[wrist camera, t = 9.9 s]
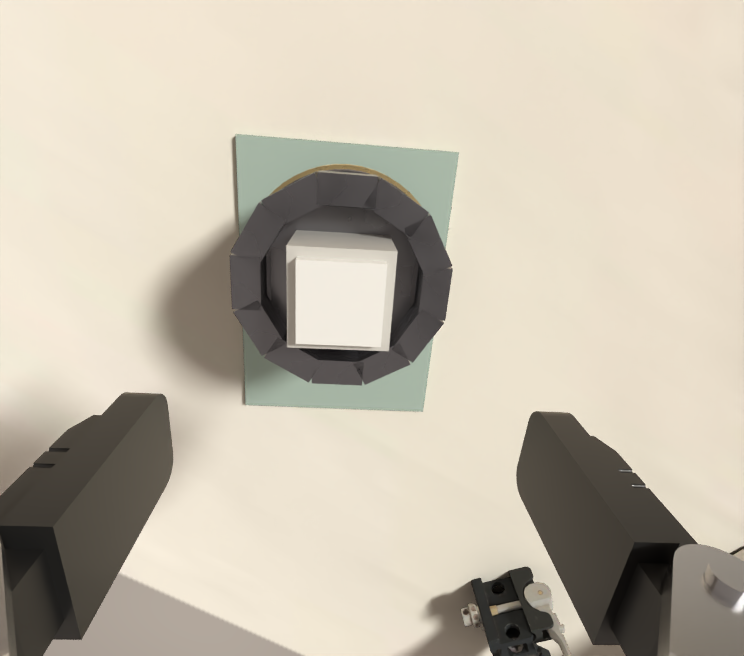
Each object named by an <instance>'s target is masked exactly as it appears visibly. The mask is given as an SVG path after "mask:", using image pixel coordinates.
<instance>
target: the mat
mask: <svg viewBox="0 0 744 656" xmlns="http://www.w3.org/2000/svg"><path fill="white" fill-rule="evenodd" d="M458 155H459V152H447V151H435V150H423V149H411V148H399V147H387V146H374V145H362V144H350V143H338V142H326V141H314V140H302V139H289V138H277V137H265V136H253V135H241V134H236V159H237V186H238V212H239V236H240V234H241V233H242V231H243V229H244V227H245V226H246V224H247V222H248V220H249V219H250V217H251V215H252V213H253V212H254V210H255V208H256V206H257V205H258V203H259V202H261V200H262V199H264V198H266V197H268V196H269V195H270V194H271V193H272V192H273V191H274V190H275V189H276V188H277V187H279V186H280V185H281V184H282V183H284V182H285V181H287V180H288V179H290V178H292V177H293V176H295V175H297V174H299V173H302V172H304V171H306V170H308V169H312V168H315V167H319V166H323V165H331V164H351V165H358V166H363V167H366V168H370V169H373V170H376V171H378V172H380V173H382V174H385V175H387V176H388V177H390V178H391V179H393V180H395V181H396V182H398V183H399V184H400V185H402V186H403V187H404V188H405V189H406V190H408V191H409V192H410V193H411V194H412V195H413V196H414V198H415V199H416V200H417V201H418V202H419V203H420V205H421V206H422V207H423V208H424V209H425V210H427V211H428V212H429V214H430V215H431V216H432V218H433V221H434V223H435V226H436V228H437V230H438V233H439V235H440V238H441V240H442V242H443V245H444V247H445V249H446V241H447V234H448V227H449V220H450V213H451V205H452V198H453V191H454V184H455V177H456V169H457V162H458ZM432 342H433V338H432V339H431V340H430V342H429V343H428V344H427V345H426V347H425V348H424V349H423V351H422V352H421V353H420V354H419V356H418V357H417V358H416V359H415V361H414V362H413V363H412V362H411V361H410V364H411V365H409V366H406V367H404V368H402V369H400V370H397V371H395V372H393V373H391V374H388V375H386V376H384V377H382V378H379V379H377V380H375V381H373V382H371V383H368V384H366V385H365V384H364V382H363V381H362V386H360V385H336V384H312V379H311V380H310V382H309V383H308V382H307V381H305V380H303V379H301V378H299V377H298V376H296V375H294V374H292V373H290V372H289V371H287V370H285V369H283V368H281V367H280V366H278V365H276V364H274V363H272V362H270V361H269V360H267V359H265V358H264V357H265V355H263V356H261V354H260V352H259V351H258V349H257V348H256V346H255V345H254V343H253V342H252V340H251V339H250V337H249V336H248V334H247V332H246V331H245V329H244V328H243V346H244V373H245V400H246V405H261V406H288V407H314V408H341V409H367V410H394V411H421V412H423V407H424V400H425V393H426V386H427V378H428V371H429V364H430V357H431V350H432Z"/></svg>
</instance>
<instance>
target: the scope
mask: <svg viewBox="0 0 744 656" xmlns="http://www.w3.org/2000/svg"><path fill="white" fill-rule="evenodd" d="M509 574H510V576H511V578H509V577H507V578H502V579H498V580H494V581H490V582H485V583H482V581H481V578H478V579H474V580H472V581H471V583H472V587H473V591H474V594H475V598H476V601H477V606H475V604H474V603H470V604H468V607H466V608H462V609H461V613H462V617H463V621H464V624H465V627H466V626H471V625H473V626H474V628H477V627H480V623H483V626H484V627H482V631H485V633H486V637H487V640H488V644H489V647H490V651H491V653H492V654H493V656H551V655H550V653H549V650H547V649H545V648H543V647H541V646H538V645H537V644H536V643H538V642H542V641H547V640H551V639H553V640H554V641H555V642H556V643H558V644H559V646H560V648H561V650H562V652H563V655H562V656H572V655H571V653H570V650H569V648H568V645H567V643H566V640H565V638H564V635H563V634H562V633H564V632H565V628H564V625H563V624H562V625H560V622H559V620H558V618H557V616H556V614H555V613H552V611H551V610H553V600H552V594H551V590H550V588H549V587H548V586H547V585H546V584H544V583H539V582H536V583H534V582H533V579H532V578H533V574H532V571H531V569H530V568H529V567H523V568H519V569H514V570H510V571H509ZM496 586H501V587H503V588H504V589H505V591H504V592H499V593H495V594H494V593H493V592H492V589H493V588H494V587H496Z"/></svg>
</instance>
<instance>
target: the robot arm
mask: <svg viewBox="0 0 744 656" xmlns="http://www.w3.org/2000/svg"><path fill="white" fill-rule="evenodd" d="M172 465H173V449H172V440H171V431H170V422H169V412H168V404H167V400H166V397H165V396H164V395H163V394H151V393H128V392H126V393H123V394H121V395H120V396H119V397H118V398H117V399H116V400H115V401H114V402H113V404H112V405H111V406H110V407H109V408H108V409H107V410H106V411H105V412H104V413H103V414H102V415H93V416H91V417H89V418H88V419H86V420H84V421H82V422H80V423H79V424H77V425H75V426H73V427H72V428H70V429H68V430H67V431H66V432H65V433H64V434H63V435H62V436H61V437H60V438H59V439H58V440H57V441H56V442H55V443H54V444H53V445H52V446H51V447H50V448H49V451H48V452H47V451H45V452H44V453H43V454H42V455H41V456H40V457H39V458H38V459H37V460H36V461H35V462H34V465H33V467H29V468H28V469H27V470H26V471H25V472H24V473H23V474H22V475H21V476H20V477H19V478H18V479H17V480H16V481H15V482H14V483H13V484H12V485H11V486H10V487H9V488H8V489H7V490H6V491H5V492H4V493H3V494H2V495H1V496H0V656H43V654H44V653H45V651H46V649H47V648H48V646H49V645H50V643H51V641H52V640H53V639H70V640H71V639H73V640H74V639H75V640H77V639H79V640H80V639H82V638H83V636H84V634H85V632H86V631H87V629H88V627H89V625H90V623H91V621H92V620H93V618H94V616H95V614H96V612H97V610H98V609H99V607H100V605H101V603H102V602H103V600H104V598H105V596H106V594H107V592H108V590H109V589H110V587H111V585H112V583H113V581H114V580H115V578H116V576H117V574H118V573H119V571H120V569H121V567H122V565H123V563H124V562H125V560H126V558H127V556H128V554H129V553H130V551H131V549H132V547H133V545H134V544H135V542H136V540H137V538H138V536H139V534H140V533H141V531H142V529H143V527H144V525H145V524H146V522H147V520H148V518H149V516H150V515H151V513H152V511H153V509H154V507H155V505H156V504H157V502H158V500H159V498H160V496H161V495H162V493H163V491H164V489H165V487H166V485H167V483H168V481H169V478H170V475H171V471H172ZM516 476H517V487H518V491H519V494H520V497H521V499H522V501H523V503H524V505H525V507H526V509H527V511H528V513H529V515H530V517H531V519H532V521H533V523H534V525H535V527H536V529H537V531H538V533H539V536H540V538H541V540H542V542H543V544H544V546H545V548H546V550H547V552H548V554H549V556H550V558H551V560H552V562H553V564H554V566H555V568H556V570H557V572H558V574H559V576H560V578H561V580H562V582H563V584H564V587H565V589H566V591H567V593H568V595H569V597H570V599H571V601H572V603H573V605H574V607H575V609H576V611H577V613H578V615H579V617H580V619H581V621H582V623H583V625H584V627H585V629H586V631H587V633H588V635H589V637H590V640H591V642H592V644H593V645H620V646H621V647H622V649H623V651H624V653H625V655H626V656H744V549H742V550H741V551H739V552H737V553H735V554H734V555H731V554H729V553H727V552H725V551H722V550H720V549H717V548H714V547H710V546H706V545H701V544H698V543H697V542H696V541H695V540H694V539H693V538H692V537H691V536H690V534H689V533H688V532H687V531H686V530H685V529H684V528H683V526H682V525H681V524H680V523H679V522H678V521H677V520H676V519H675V517H674V516H673V515H672V514H671V513H670V512H669V511H668V509H667V508H666V507H665V506H664V505H663V504H662V503H661V502H660V500H659V499H658V498H657V497H656V496H655V495H654V494H653V493H652V491H651V490H650V489H649V488H646V487H645V483H644V482H643V481H642V480H641V479H640V478H639V477H638V476H637V474H636V473H632V469H631V468H630V466H629V465H628V464H627V463H626V462H625V461H624V460H623V459H622V457H621V456H620V455H619V454H618V453H617V452H616V451H615V450H613V449H612V448H610V447H609V446H607V445H606V444H605V443H603V442H602V441H600V440H599V439H597V438H596V437H594V436H590V435H589V434H588V433H587V432H586V430H585V429H584V428H583V427H582V426H581V425H580V423H579V422H578V421H577V420H576V419H575V417H574V416H573V415H572V414H570V413H562V412H539V411H536V412H533V413H532V415H531V416H530V418H529V422H528V426H527V430H526V434H525V438H524V442H523V446H522V450H521V454H520V458H519V462H518V466H517V475H516Z"/></svg>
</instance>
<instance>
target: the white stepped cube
mask: <svg viewBox="0 0 744 656" xmlns="http://www.w3.org/2000/svg"><path fill="white" fill-rule="evenodd" d="M397 253H398V251H397V249H396V247H395V245H394V243H393V241H392V239H391V237H390V235H374V234H356V233H339V232H321V231H304V230H296V231H295V233H294V234H293V236H292V238H291V239H290V241H289V242H288V244H287V245H286V269H287V347H290V348H316V349H342V350H368V351H389V344H390V333H391V321H392V310H393V298H394V287H395V276H396V264H397Z"/></svg>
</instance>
